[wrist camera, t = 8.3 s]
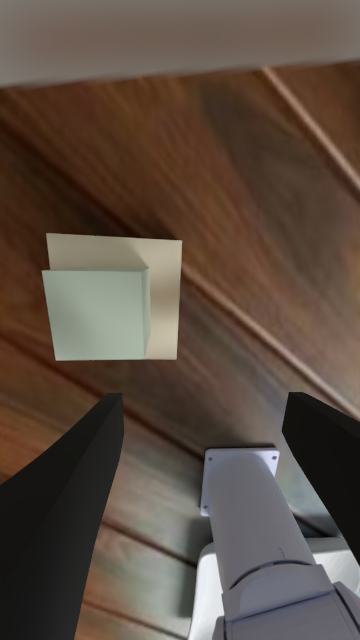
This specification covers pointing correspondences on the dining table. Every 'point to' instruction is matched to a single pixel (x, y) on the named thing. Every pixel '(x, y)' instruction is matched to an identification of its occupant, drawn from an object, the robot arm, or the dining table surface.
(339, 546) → the salad plate
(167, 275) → the birch base
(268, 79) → the dining table surface
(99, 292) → the sage block
